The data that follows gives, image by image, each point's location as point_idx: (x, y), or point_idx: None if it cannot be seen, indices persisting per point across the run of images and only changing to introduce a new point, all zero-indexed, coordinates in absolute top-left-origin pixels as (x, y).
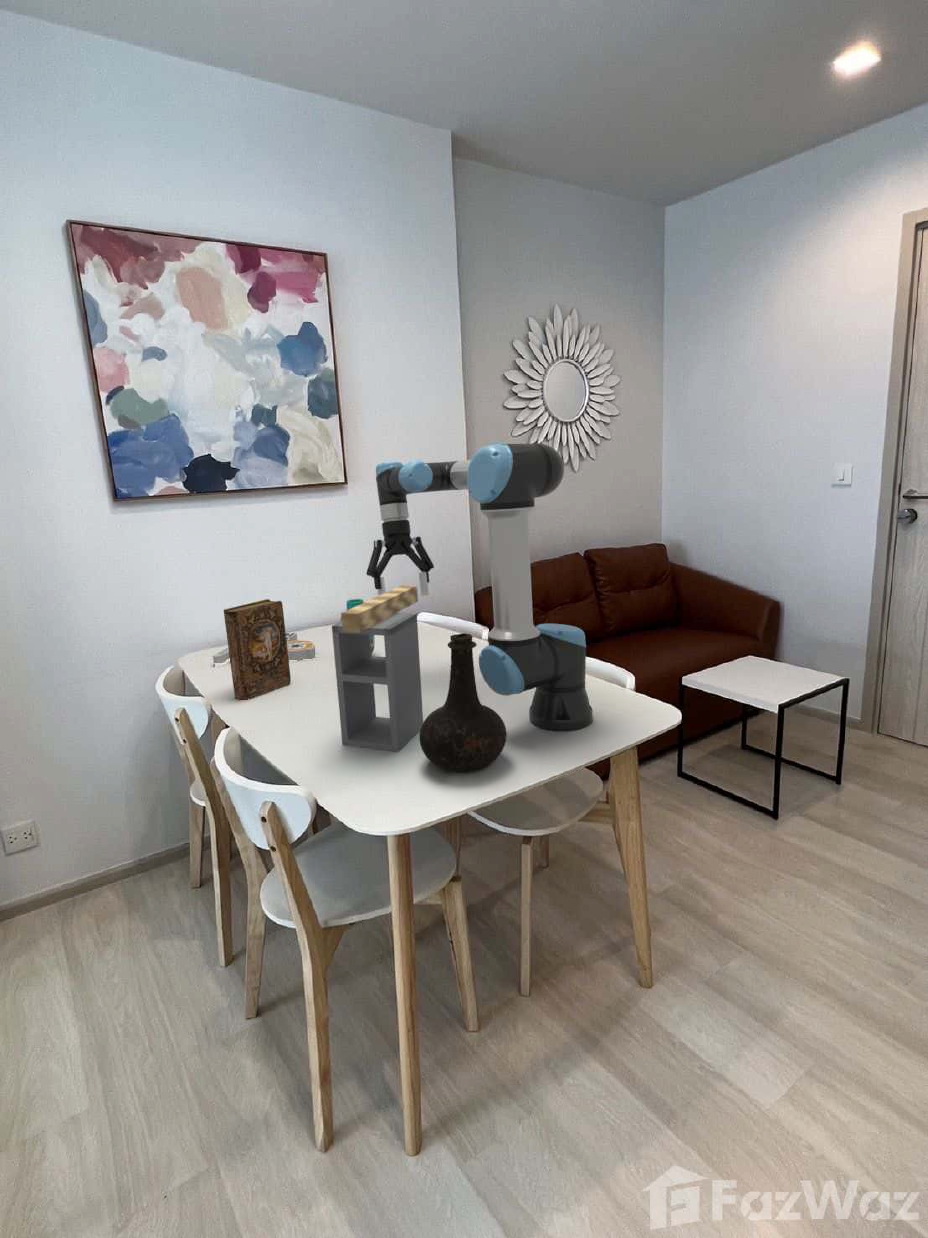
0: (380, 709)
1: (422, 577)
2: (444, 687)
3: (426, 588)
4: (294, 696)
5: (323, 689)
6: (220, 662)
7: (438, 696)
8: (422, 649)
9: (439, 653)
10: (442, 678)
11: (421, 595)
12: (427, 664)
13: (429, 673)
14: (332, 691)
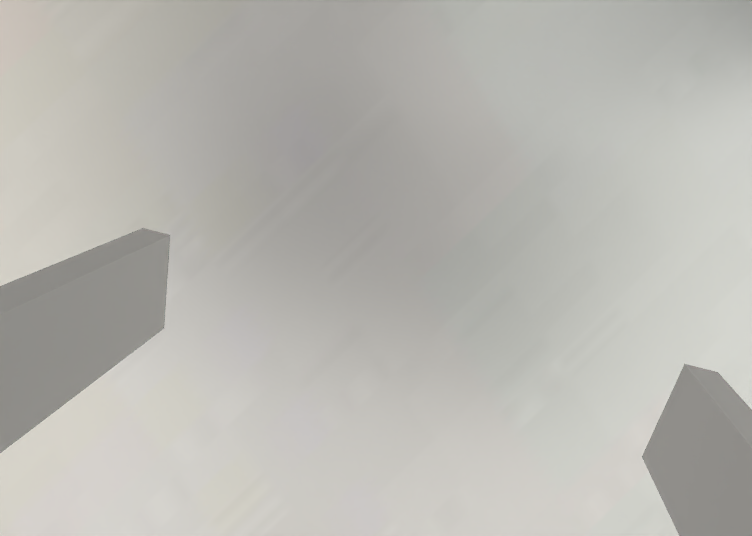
0: (680, 143)
1: (9, 364)
2: (360, 105)
3: (114, 254)
4: None
5: (631, 481)
6: None
7: (450, 53)
8: (81, 492)
9: (75, 402)
10: (287, 186)
11: (163, 325)
12: (199, 351)
13: (273, 270)
14: (629, 438)
